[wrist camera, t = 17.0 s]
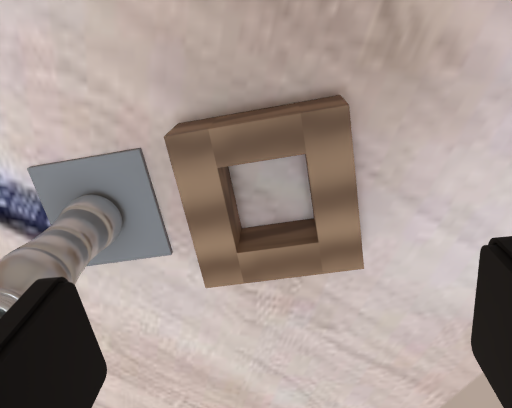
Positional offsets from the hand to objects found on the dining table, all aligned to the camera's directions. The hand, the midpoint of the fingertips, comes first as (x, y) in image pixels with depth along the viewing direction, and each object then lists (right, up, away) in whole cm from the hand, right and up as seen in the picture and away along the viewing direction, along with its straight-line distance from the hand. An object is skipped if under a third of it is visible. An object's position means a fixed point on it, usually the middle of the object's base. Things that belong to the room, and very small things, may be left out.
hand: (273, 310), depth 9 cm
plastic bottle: (-19, +1, +40) cm, 45 cm away
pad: (-19, +2, +40) cm, 45 cm away
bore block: (+1, +5, +38) cm, 38 cm away
